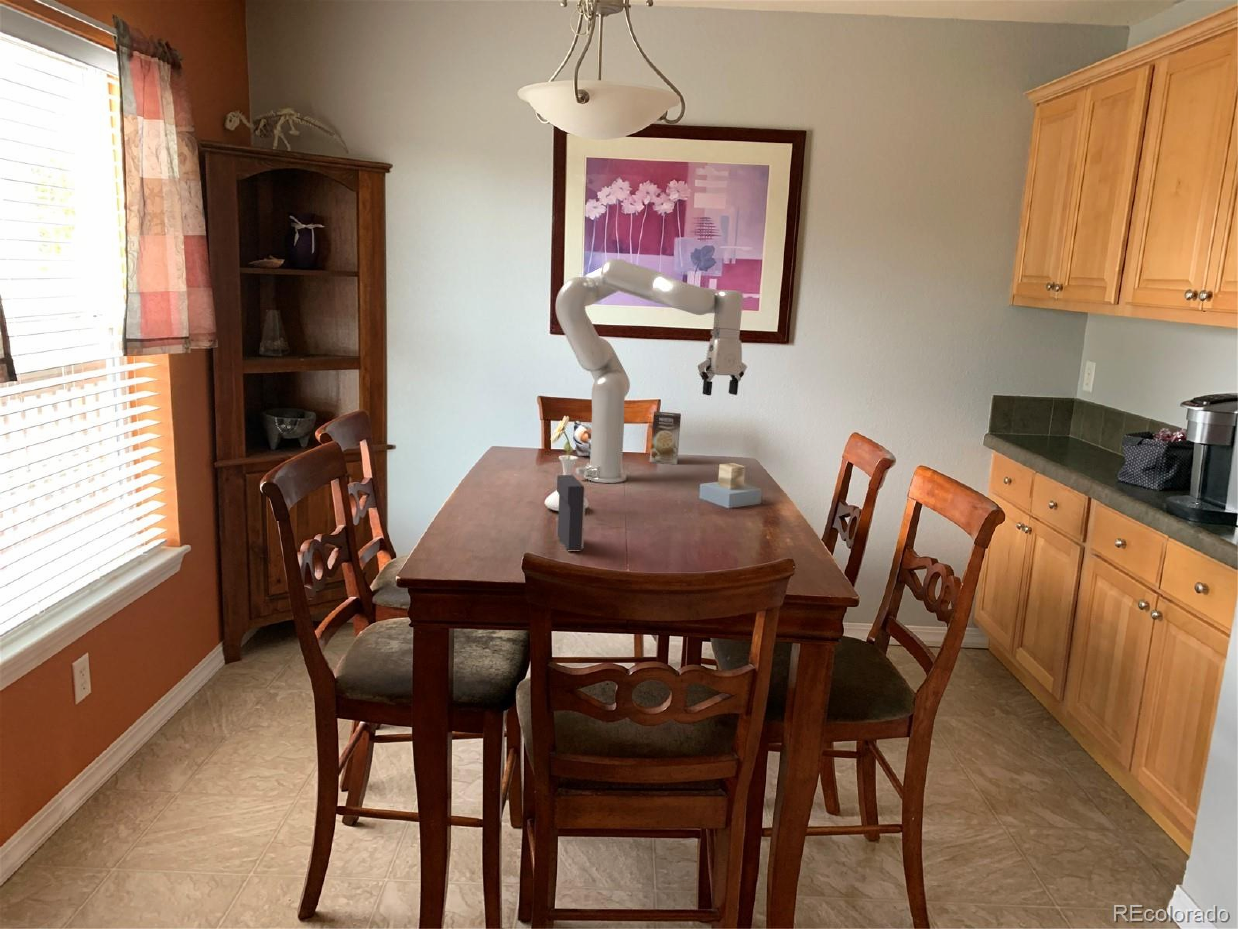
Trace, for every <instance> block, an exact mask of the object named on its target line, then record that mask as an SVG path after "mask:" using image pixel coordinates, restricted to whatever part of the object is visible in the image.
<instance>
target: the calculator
mask: <svg viewBox="0 0 1238 929" xmlns="http://www.w3.org/2000/svg"><path fill="white" fill-rule="evenodd" d="M556 490H557V492H558V494H559V511H558V514H557V516H558V517H557V519H558V520H557V538H558V537H559V539H560V540H559V539H558V540H559V542H560V541H562V543H563V544H564V545H565V547H566V548H567V549H568V550H581V551H582V549H584V540H585V538H584V536H585V535H584V534H585V528H584V527H585V519H586V518H585V515H586V509H585V505H584V500H585V498H586V497H585V495H586V487H585V486H584V485H583V484H582V483H581V482H580V481H579V480H578V479H577V478H576V477H575V476H574V475H573V474H572V475H563V474H559V475H557V477H556ZM562 543H561V544H562ZM563 544H562V545H563ZM565 547H564V548H565ZM566 548H565V549H566Z"/></svg>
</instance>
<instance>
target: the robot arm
mask: <svg viewBox="0 0 1238 929" xmlns="http://www.w3.org/2000/svg"><path fill="white" fill-rule="evenodd" d="M617 292H620V293H624V294H628V295H631V296H633V297H637V298H639V299H643V300H647V301H650V302H653V303H656V304H661V305H664V306H667V307H670V308H673V309H677V310H680V311H684V312H687V313H689V314H693V315H696V316H704V315H706V314H714V315H713V325H712V329H711V330H710V335H711V336H712V337H711V338H710V340H709V344H708V348H707V353H706V357H705V358H706V359H705V360H704V361H702V362H701V363H699V364H698V365H697V369H698V374H699V376H700V378H701V380H702V381H703V384H702V395H705V396H708V397H709V396H712V390H713V381H712V379H713V378H714V377H715V376H730V378H731V379H730V380H729V386H728V394H729V395H733V396H734V395H735V396H738V393H739V392H738V391H739V390H738V389H739V382H740V381H741V380H742V378H743V377H744V375H745V372H746V370H747V368H748V366H747V365H746V364H745V363H744V362H743V361H742V360H743V350H742V349H743V348H742V340H740V333H741V323H742V321H741V320H742V312H743V302H744V295H743V294H744V293H743V292H742V291H739V290H730V289H713V288H710V287H709V288H708V287H707V286H706V287H704V286H702V287H701V286H697V285H694V284H690V283H687V282H684V281H681V280H678V279H675V278H673V277H671V276H669V275H667V274H666V273H663V272H661V271H658V270H655V269H652V268H648V267H644V266H642V265H639V264H635V263H632V262H629V261H626V260H624V259H621V258H611V259H609V260H607V261H605V262H604V263H603V265H602V266H601V267H600V268H598V269H595V270H594V271H591V272H589V273H588V274H585V275H583V276H577V277H573V278H571V279H568V280H567V281H566V282H565V283H564V284H562V287H560V290H559V291H558V293H557V296H556V298H555V299H556V301H555V315H556V318H557V321H558V324H559V325H560V327H561V329H562V332H563V333H564V335H565V338H566V339H567V341H568V344H569V345H570V347H571V350H572V351H573V354H574V355H575V358H576V359H577V361H578V364H579V366H580V367H581V368H582V369H583V370H585V371H587V372H590V374H591V376H592V378H593V379H594V382H593V384H592V388H591V424H592V429H591V450H590V456H589V462H587V463H586V465H585V466H584V467H583V466H580V467H576V468H575V474H576V475H582V474H583V478H584V479H586V480H587V479H588V480H587V481H590V480H591V482H595V483H604V484H607V483H608V484H614V483H615V484H616V483H622V482H625V481H626V480H627V475H626V473H624V472H622V470H623V468H622V467H623V451H624V450H623V449H624V435H625V434H624V429H625V398H626V396H627V395H628V393H629V392H630V388H631V385H630V384H631V382H630V378H629V376H628V374H627V372H626V371H625V369H624V366H623V364H622V362H621V360H620V359H619V357H618V355H617V352H616V351H615V348H614V347H613V346H612V345H611V344H610V342H609V341H608V340H607V339H605V338H602V337H600V336H599V334H598V333H597V330H596V329H595V326H594V324H593V323H592V322H593V321H592V320H591V319H590V317H589V316H588V314H587V311H586V307H588V306H592V305H594V304H595V303H598V302H599V301H602V300H604V299H606V298H607V297H610V296H612V295H613V294H616V293H617Z"/></svg>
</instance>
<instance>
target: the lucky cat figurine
mask: <svg viewBox="0 0 1238 929" xmlns="http://www.w3.org/2000/svg"><path fill="white" fill-rule="evenodd" d="M591 429H592V422H583V423H582V422H581V421H580V420H576V421H574V425H573V437H572V439H573V442H574V444H575V447H574V450H575V454H577V457H578V456H579V457H590V450H591Z"/></svg>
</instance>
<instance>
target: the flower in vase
mask: <svg viewBox="0 0 1238 929" xmlns="http://www.w3.org/2000/svg"><path fill="white" fill-rule="evenodd" d="M569 419H570V417H569V415H567V416H566V415H564V416H563V418H562V420H559V422H558V425H557V427H556V428H555V429H554V431H553V434H554V435H552V437H551V438H550V441H551V442H550V443H551V444H555V443H557V441H558V440H559V439H560V438H561V437H562V435H563V434H564V436H565V438H566V442H565V443H564V445H563V450H565V451H566V454H564V455H559V456H558V459H559V460H560V462H561V465H562V472H563V474H562V475H573V472H574V467H575V464H576V462H577V461H578V460H579V457H578V456H574V455H571V453H572V452H573V451H574V448H573V446H571V443H570V440H569V438H568V437H569V436H568V435H567V433H566V431H565V430H566V428H567V426H568V424H569V421H570V420H569ZM589 504H590V503H589V500H587V498H586V497H585V500H584V505H585V510H586V509H587V508H588V506H589ZM544 505H545V506H546V507H547V508H548V509H550V510H553V511H557V512H559V494H558V492H557V489H556V490H555V491H553V492H552V493H551V494H550V495H548V496H547V497H546V498H545V500H544Z"/></svg>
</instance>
